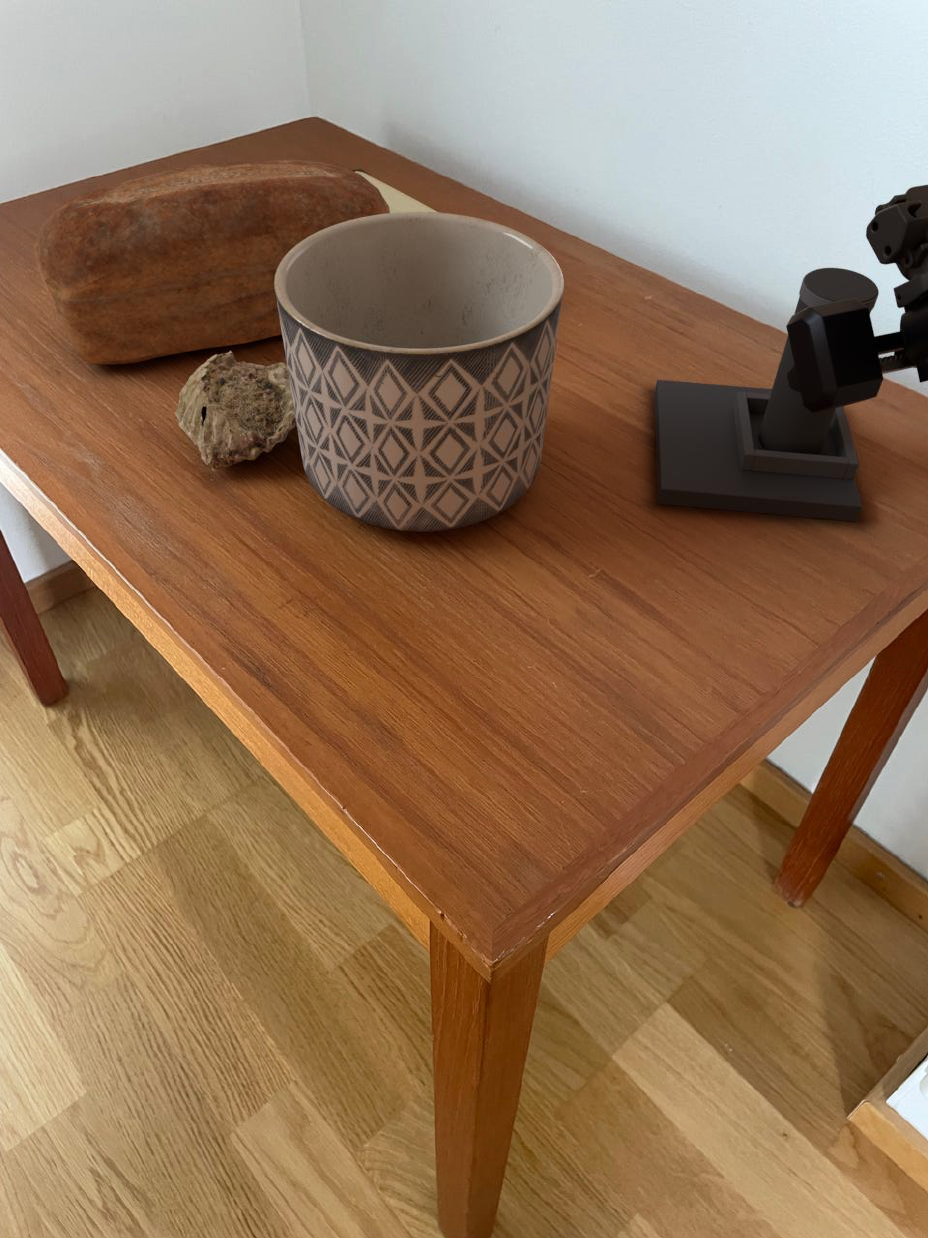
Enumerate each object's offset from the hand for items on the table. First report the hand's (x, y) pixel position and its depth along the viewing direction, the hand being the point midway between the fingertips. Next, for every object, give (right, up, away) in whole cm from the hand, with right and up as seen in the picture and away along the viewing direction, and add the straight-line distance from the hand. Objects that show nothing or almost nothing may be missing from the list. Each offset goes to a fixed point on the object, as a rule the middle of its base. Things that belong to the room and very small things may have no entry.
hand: (844, 369), depth 70 cm
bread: (-49, +10, +22) cm, 55 cm away
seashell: (-45, -3, +9) cm, 47 cm away
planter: (-31, -6, +7) cm, 32 cm away
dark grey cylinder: (-1, -4, +8) cm, 9 cm away
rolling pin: (-32, +20, +31) cm, 49 cm away
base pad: (-4, -4, +9) cm, 11 cm away
